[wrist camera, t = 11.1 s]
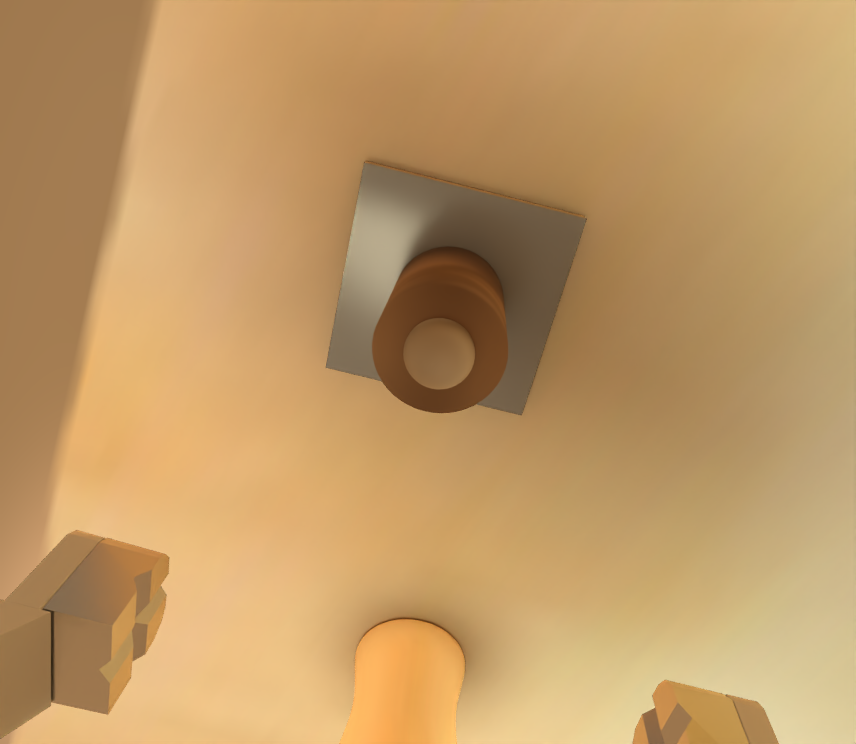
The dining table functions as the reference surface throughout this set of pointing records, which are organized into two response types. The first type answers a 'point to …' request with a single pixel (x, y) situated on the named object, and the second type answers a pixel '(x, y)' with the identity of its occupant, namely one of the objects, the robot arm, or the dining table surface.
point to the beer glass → (405, 685)
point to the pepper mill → (443, 332)
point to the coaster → (465, 228)
